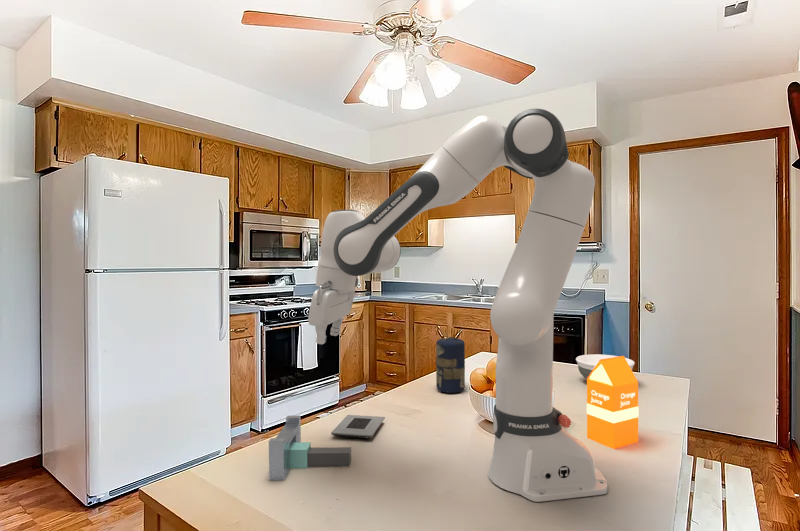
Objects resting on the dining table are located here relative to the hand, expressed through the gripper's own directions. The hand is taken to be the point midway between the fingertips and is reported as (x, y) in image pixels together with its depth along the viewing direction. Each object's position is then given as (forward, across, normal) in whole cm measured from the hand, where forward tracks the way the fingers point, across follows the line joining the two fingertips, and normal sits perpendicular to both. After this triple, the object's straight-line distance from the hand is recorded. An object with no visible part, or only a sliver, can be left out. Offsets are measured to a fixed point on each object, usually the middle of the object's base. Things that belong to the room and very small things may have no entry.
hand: (327, 339), depth 107 cm
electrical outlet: (+26, +13, -8) cm, 30 cm away
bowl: (+15, +68, -80) cm, 106 cm away
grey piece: (+27, -8, +3) cm, 28 cm away
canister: (+23, +52, -28) cm, 63 cm away
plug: (+26, -7, -4) cm, 27 cm away
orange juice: (+16, +16, -69) cm, 73 cm away
